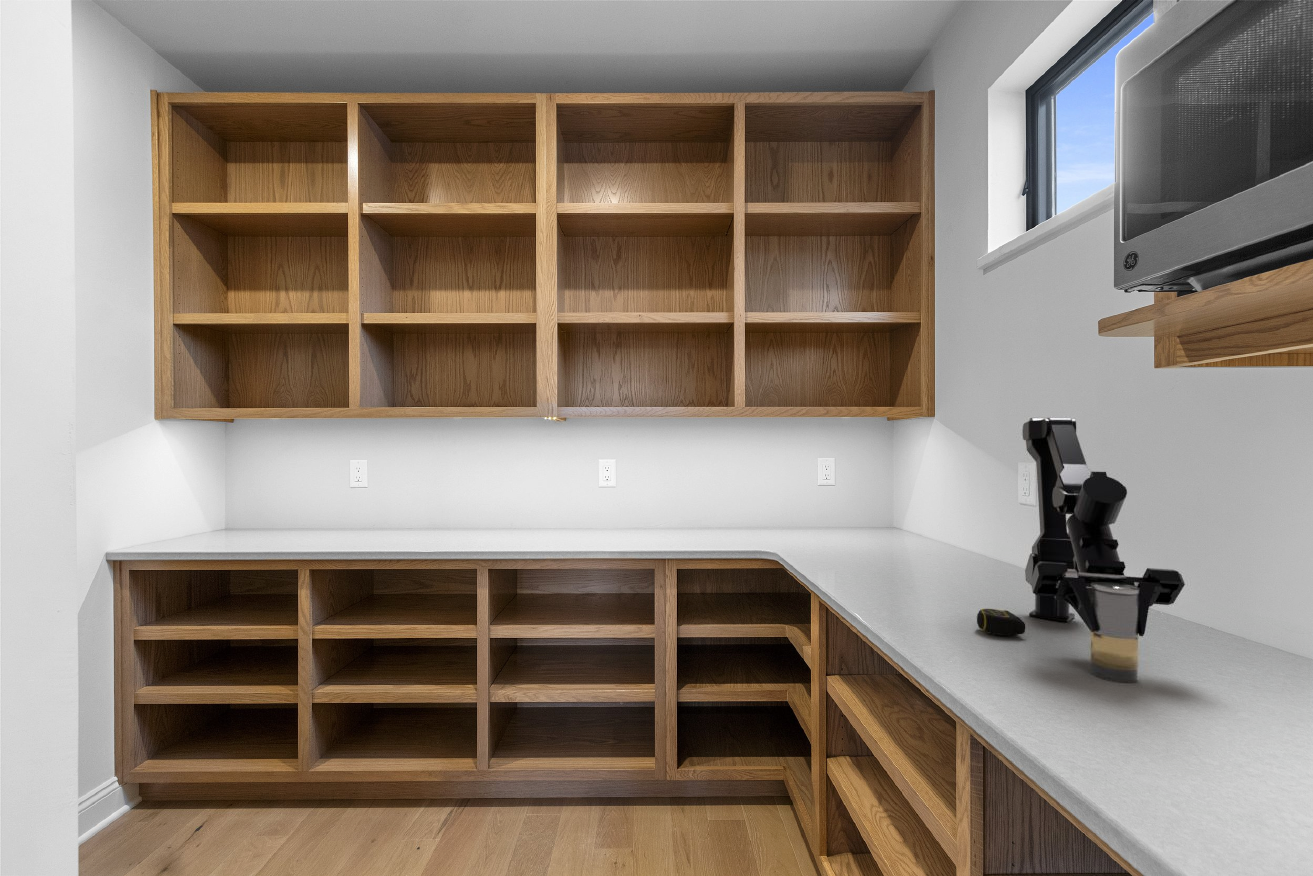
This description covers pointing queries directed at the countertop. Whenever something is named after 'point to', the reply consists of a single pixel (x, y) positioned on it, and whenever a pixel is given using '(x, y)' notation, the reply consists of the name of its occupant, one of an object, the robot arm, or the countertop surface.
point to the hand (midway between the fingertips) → (1117, 633)
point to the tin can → (1115, 632)
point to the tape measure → (1000, 622)
